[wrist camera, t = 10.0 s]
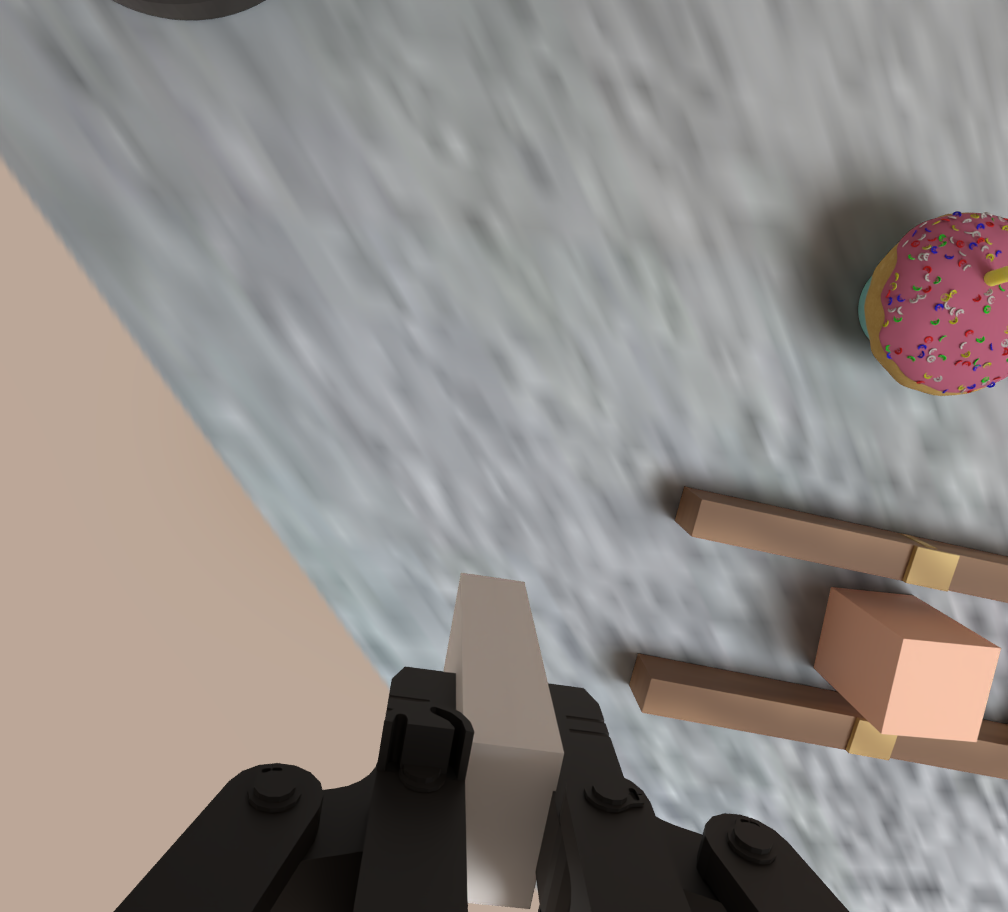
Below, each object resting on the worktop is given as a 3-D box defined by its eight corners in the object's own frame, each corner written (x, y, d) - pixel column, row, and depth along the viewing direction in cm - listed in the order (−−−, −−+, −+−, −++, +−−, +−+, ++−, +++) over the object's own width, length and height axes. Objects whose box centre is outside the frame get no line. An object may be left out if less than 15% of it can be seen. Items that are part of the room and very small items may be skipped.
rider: (830, 586, 42) (903, 638, 35) (913, 595, 43) (1000, 648, 36) (813, 667, 43) (881, 733, 36) (894, 675, 43) (976, 742, 37)
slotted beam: (684, 485, 40) (704, 499, 37) (1106, 577, 43) (1158, 598, 40) (628, 685, 42) (643, 716, 39) (1035, 761, 45) (1079, 796, 42)
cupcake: (810, 250, 39) (966, 219, 27) (965, 203, 39) (1188, 152, 27) (842, 406, 40) (1002, 442, 28) (991, 361, 40) (1211, 378, 29)
